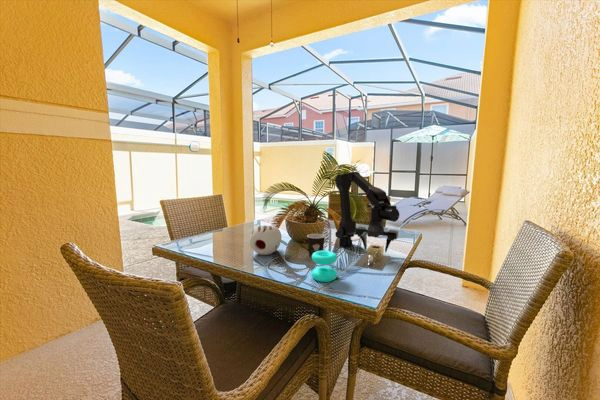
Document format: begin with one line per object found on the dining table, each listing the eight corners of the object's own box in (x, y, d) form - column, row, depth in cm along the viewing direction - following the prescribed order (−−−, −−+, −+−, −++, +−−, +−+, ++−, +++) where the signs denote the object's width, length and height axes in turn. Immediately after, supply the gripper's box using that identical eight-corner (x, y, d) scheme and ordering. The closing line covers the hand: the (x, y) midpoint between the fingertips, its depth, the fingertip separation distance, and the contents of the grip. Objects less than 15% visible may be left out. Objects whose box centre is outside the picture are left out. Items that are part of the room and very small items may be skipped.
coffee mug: (326, 254, 137) (327, 234, 136) (320, 259, 130) (321, 239, 128) (305, 251, 142) (305, 232, 141) (298, 256, 135) (298, 236, 133)
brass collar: (380, 260, 124) (381, 249, 124) (367, 258, 127) (367, 247, 127) (383, 256, 130) (383, 246, 129) (370, 254, 133) (370, 244, 132)
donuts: (329, 248, 115) (342, 255, 106) (328, 271, 116) (341, 280, 107) (307, 251, 111) (318, 259, 102) (307, 275, 112) (318, 284, 103)
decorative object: (287, 248, 147) (286, 221, 145) (274, 260, 129) (274, 229, 127) (260, 246, 151) (259, 219, 149) (244, 257, 133) (243, 227, 131)
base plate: (382, 274, 113) (382, 261, 112) (353, 269, 118) (353, 256, 118) (390, 259, 130) (391, 248, 130) (365, 255, 136) (365, 244, 135)
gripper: (351, 219, 123) (350, 252, 125) (395, 223, 115) (393, 259, 117) (358, 214, 133) (357, 246, 135) (399, 218, 125) (397, 251, 127)
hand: (375, 250), depth 128 cm, fingers open, 9 cm apart
